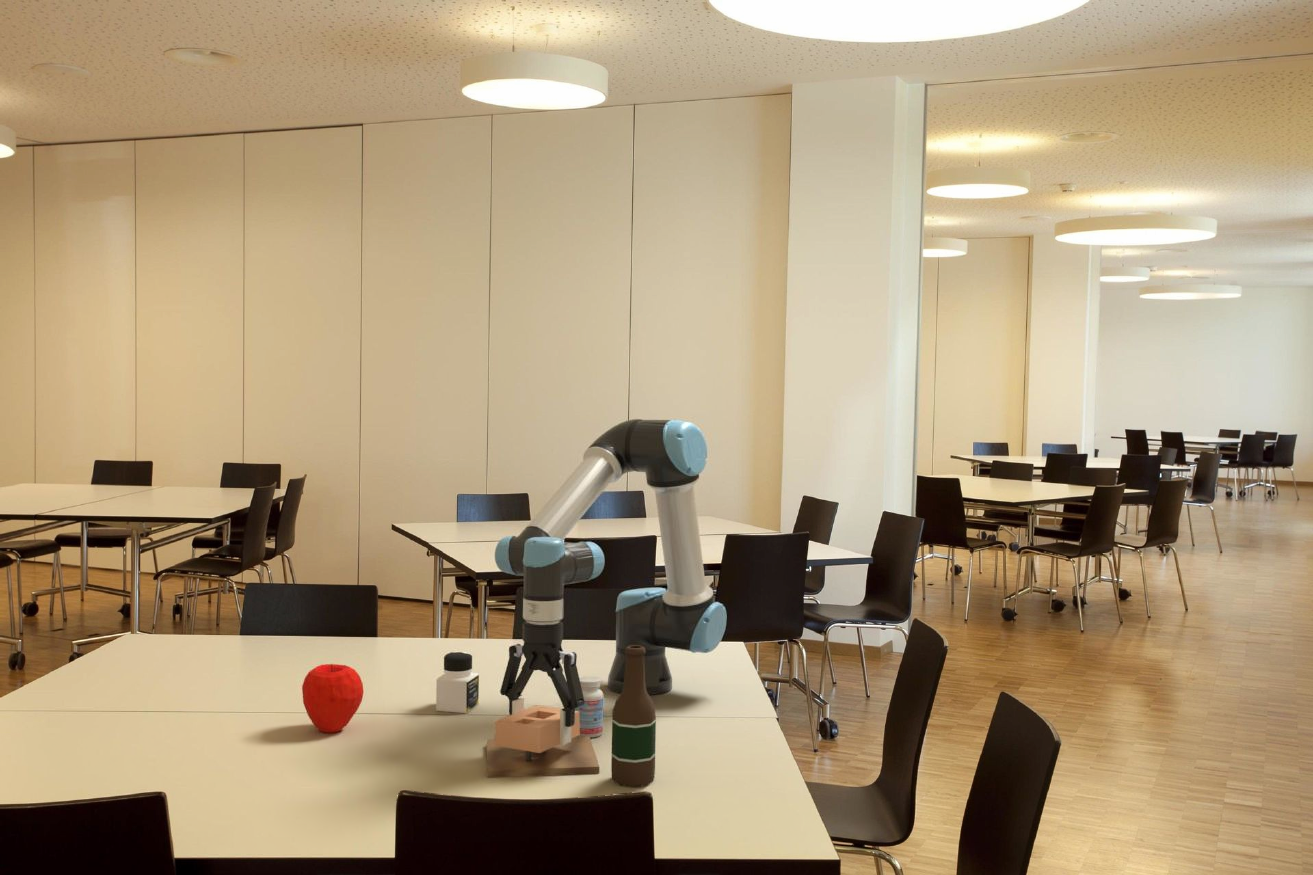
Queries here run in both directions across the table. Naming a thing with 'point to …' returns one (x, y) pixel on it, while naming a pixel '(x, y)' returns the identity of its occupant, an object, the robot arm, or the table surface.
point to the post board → (542, 760)
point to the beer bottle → (633, 726)
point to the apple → (332, 696)
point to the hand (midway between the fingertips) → (541, 738)
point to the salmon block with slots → (532, 729)
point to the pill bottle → (591, 707)
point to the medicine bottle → (457, 684)
